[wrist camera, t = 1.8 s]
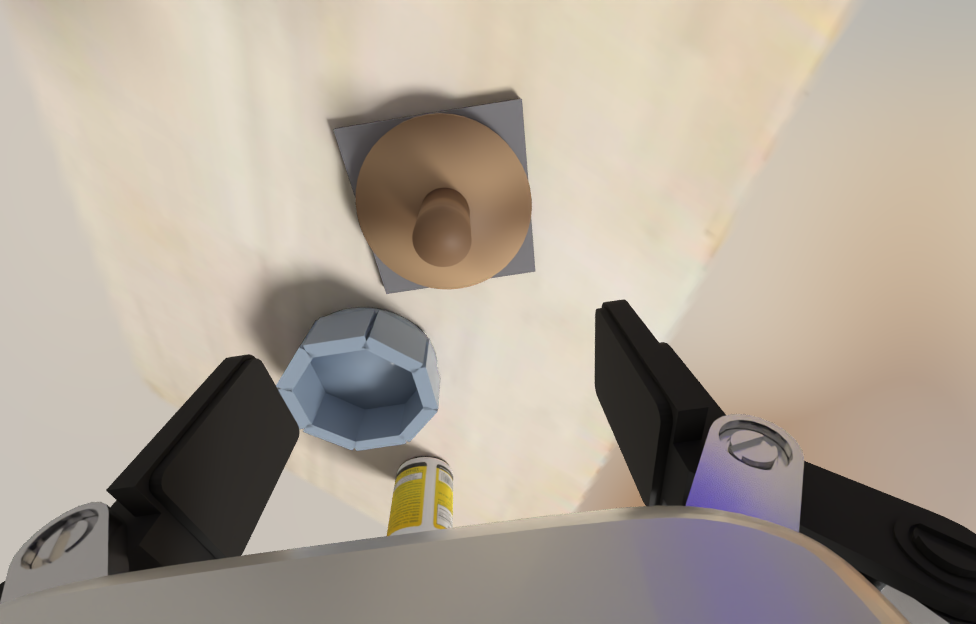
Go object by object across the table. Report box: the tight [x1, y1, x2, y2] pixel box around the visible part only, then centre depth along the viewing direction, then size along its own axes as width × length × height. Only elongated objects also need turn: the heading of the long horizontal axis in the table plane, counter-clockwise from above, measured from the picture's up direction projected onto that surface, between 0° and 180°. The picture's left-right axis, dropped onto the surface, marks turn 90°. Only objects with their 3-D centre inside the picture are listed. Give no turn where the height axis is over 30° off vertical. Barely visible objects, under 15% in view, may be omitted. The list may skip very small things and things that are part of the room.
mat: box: [333, 99, 535, 294], centre depth 22 cm, size 10×10×1 cm
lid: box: [356, 113, 532, 289], centre depth 20 cm, size 10×10×5 cm
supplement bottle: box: [387, 457, 453, 536], centre depth 32 cm, size 5×5×10 cm
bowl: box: [276, 307, 440, 451], centre depth 27 cm, size 10×10×4 cm
